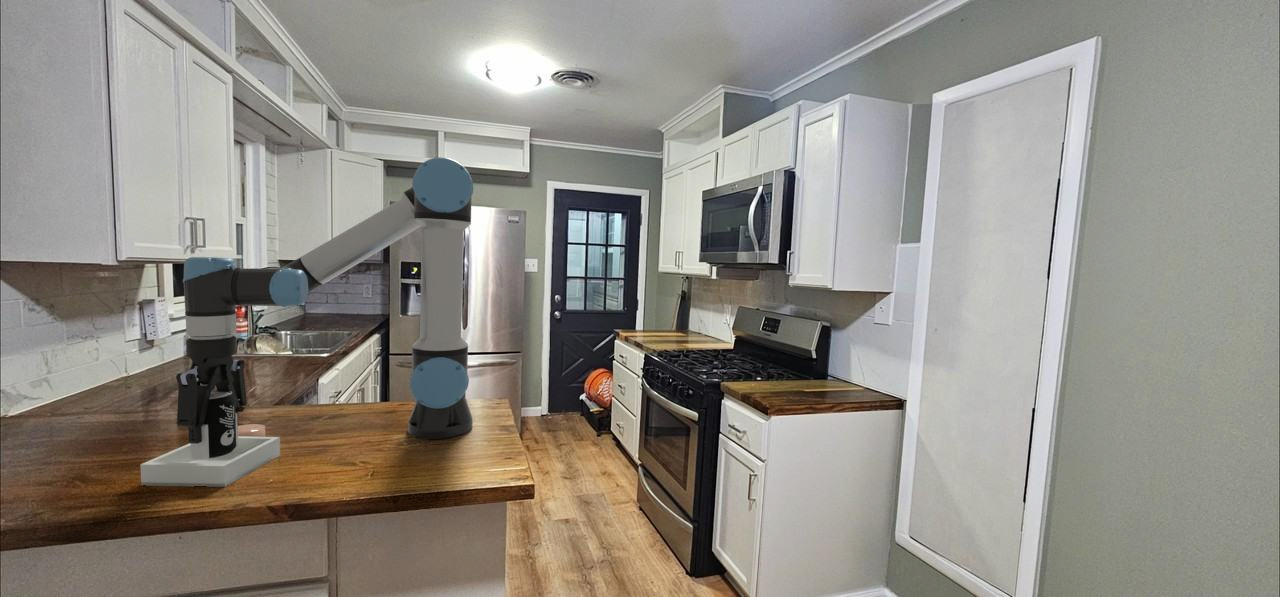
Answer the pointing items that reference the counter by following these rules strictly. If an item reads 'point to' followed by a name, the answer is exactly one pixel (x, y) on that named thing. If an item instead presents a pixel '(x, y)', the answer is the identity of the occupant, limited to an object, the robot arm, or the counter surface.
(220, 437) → the beverage can
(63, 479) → the counter surface
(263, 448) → the white square tray
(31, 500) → the counter surface
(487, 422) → the counter surface
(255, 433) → the pink shiny round part
